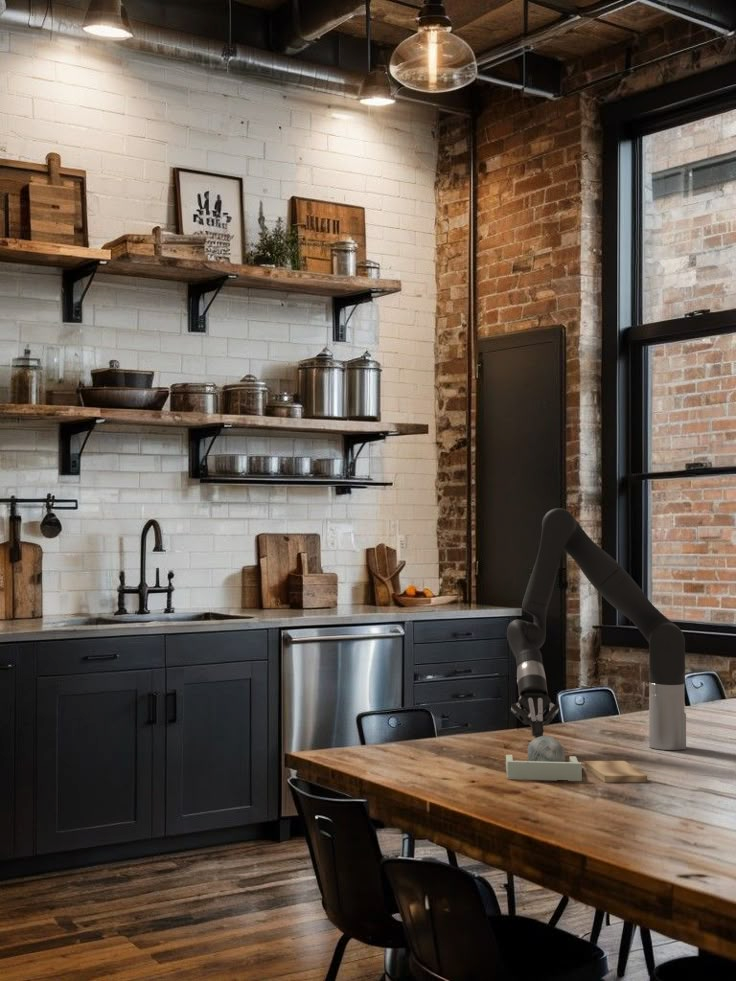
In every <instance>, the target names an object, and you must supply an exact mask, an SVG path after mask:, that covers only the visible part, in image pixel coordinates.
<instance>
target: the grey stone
mask: <svg viewBox="0 0 736 981" xmlns="http://www.w3.org/2000/svg"><path fill="white" fill-rule="evenodd" d="M526 752H527V758H528V761H544V762H566V754H565V750H564V748H563V746H562V745H561V743H560V742H559V741H558V740H557V739H556V738H554V737H553V736H547V735H543V736H541V737H538V738H535V737H534V739H533V740H530V742H529V743H528V746H527V751H526Z"/></svg>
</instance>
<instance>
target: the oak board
mask: <svg viewBox="0 0 736 981" xmlns="http://www.w3.org/2000/svg"><path fill="white" fill-rule="evenodd" d="M583 762H584V763H583V767H585V768H584V769H586V770H587V769H588V770H587V771H589V773H591V772H592V773H591V774H593V775H594V776H595V777H596V778H598V779H599V778H600V779H599V780H600V781H602V782H603V783H648V774H645V772H642V771H641V770H639V769H638V768H636V767H635V766H633V765H632V764H630V763H628V761H625V760H586V761H585V760H584V761H583Z"/></svg>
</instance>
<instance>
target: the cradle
mask: <svg viewBox="0 0 736 981" xmlns="http://www.w3.org/2000/svg"><path fill="white" fill-rule="evenodd" d="M582 769H583V764H582V762H579V761H578V758H577V756H569V761H565V762H544V761H529V760H514V759H513V754H505V770H506V777H507V778H506V779H507V780H521V781H522V780H526V781H527V780H528V781H532V780H533V781H557V780H568V781H567V782H582V779H583V778H582V776H583V775H582V774H583V770H582Z"/></svg>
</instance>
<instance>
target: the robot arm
mask: <svg viewBox="0 0 736 981" xmlns="http://www.w3.org/2000/svg"><path fill="white" fill-rule="evenodd" d="M540 534H541V536H540V543H539V547H538V553H537V556H536V560H535V562H534V566H533V569H532V571H531V574H530V577H529V581H528V583H527V586H526V591H525V594H524V596H523V599H522V602H521V603H522V604H521V610H523V611H524V612H526V613H527V614H530V615H531V616H532V618H533V622H530V621H526V620H524V619H514V620H512V621H511V622H509V624H508V626H507V628H506V629H507V630H506V638H507V643H508V646H509V647H510V650H511V652H512V654H513V656H514V658H515V662H516V678H517V679H516V684H517V688H518V689H517V690H518V699H517V700H518V701H517V702H516V703H512V704H511V708H510V712H511V713H512V714H513V715H514V716H515V717H516V718H517V719H518V720H519V721H520V722H521V723H523V724H524V725H525V726H526V725H527V726H528V725H529V726H530V729H531V736H533V737H534V739H535V738H538V737H541V736H544V725H545V726H547V725H549V724H550V722H552V720H553V719H554V718H555V717H556V715H557V714H558V713H559V709H560V704H558V703H555V704H554V703H553V702H551V699H550V697H549V695H548V694H549V693H548V687H547V686H548V685H547V679H546V673H545V668H544V663H543V662H544V661H543V655H542V652H541V650H540V649H541V648H542V647H543V645H544V643H545V642H546V636H547V634H546V633H547V629H546V628H547V613H548V610H549V604H550V601H551V598H552V595H553V590H554V589H555V588H554V586H555V582H556V578H557V573H558V569H559V565H560V561H561V558H562V556H563V552H565V553H567V554H568V555H569V556H570V557H571V559H573V560H574V561H575V563H576V564H577V566H578V567H579V568H580V570H581V572H582V573H583V575H584V576H585V577H586V579H587V580H588V581H589V583H590V584H591V585H592V586H593V587H594V589H595V590H596V591H597V592H598V593H599V594H600V595H601V596H602V598H603V599H604V600H605V601H607V602H608V603H609V604H610V605H611V606H612V607H614V608H615V610H617V611H618V612H619V613H620V614H622V615H624V616H625V617H626V618H627V619H628V620H629V621H630V622H632V623H633V625H635V627H636V628H637V629H638V630H639V632H640V633H641V635H643V638H645V640H646V641H647V642H648V645H649V646H648V647H649V648H648V653H649V655H648V657H649V659H648V660H649V662H648V663H649V665H648V666H649V668H648V680H649V682H648V683H649V684H648V698H649V700H648V701H649V702H648V715H649V716H648V745H649V748H652V749H656V750H662V751H663V750H664V751H680V750H687V713H686V712H685V710H686V709H685V706H686V705H685V674H686V638H685V636H684V633H683V631H682V629H681V628H680V627H679V626H678V625H676V624H675V623H674V622H672V621H671V620H670V619H668V617H666V616H665V615H664V614H663V613H662V612H661V611H660V610H659V609H657V608H656V607H655V605H654V604H652V602H651V600H650V599H649V598H648V597H647V596H646V594H645V593H644V592H643V590H642V588H640V586H639V585H638V583H636V581H635V580H634V579H633V577H632V576H631V575H630V574H629V573H628V572H627V571H626V570H625V569H624V568H623V566H621V565H620V563H619V562H617V561H616V560H615V559H614V558H613V557H612V556H611V555H610V554H608V552H606V551H605V550H604V549H602V548H601V547H600V546H599V545H598V544H596V543H595V542H594V540H592V538H591V537H590V536H589V535H588V534H587V533H586V531H585V530H584V529H583V527H582V526H581V524H579V522H578V520H577V519H576V518H575V516H574V515H573V514H572V513H571V511H569V510H567V509H565V508H561V507H559V508H558V507H557V508H556V507H555V508H552V509H550V510H549V511H547V512H546V513H545V515H544V516H543V518H542V522H541V533H540ZM548 708H549V709H548ZM547 710H549V711H548V712H547V713H546V715H545V716H543V715H544V714H545V712H546V711H547Z"/></svg>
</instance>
